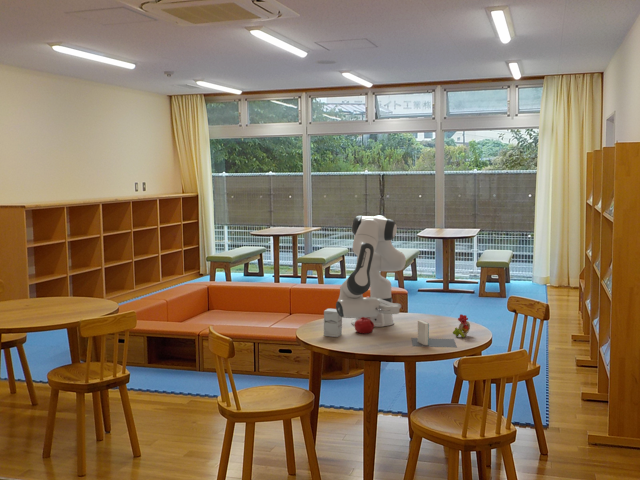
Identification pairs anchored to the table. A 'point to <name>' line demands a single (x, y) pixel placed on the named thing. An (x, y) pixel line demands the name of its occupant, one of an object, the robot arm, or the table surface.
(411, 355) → the table surface
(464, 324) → the bird rattle
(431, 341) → the rubber mat
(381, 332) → the table surface
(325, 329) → the supplement box
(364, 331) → the pomegranate
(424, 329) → the tile
